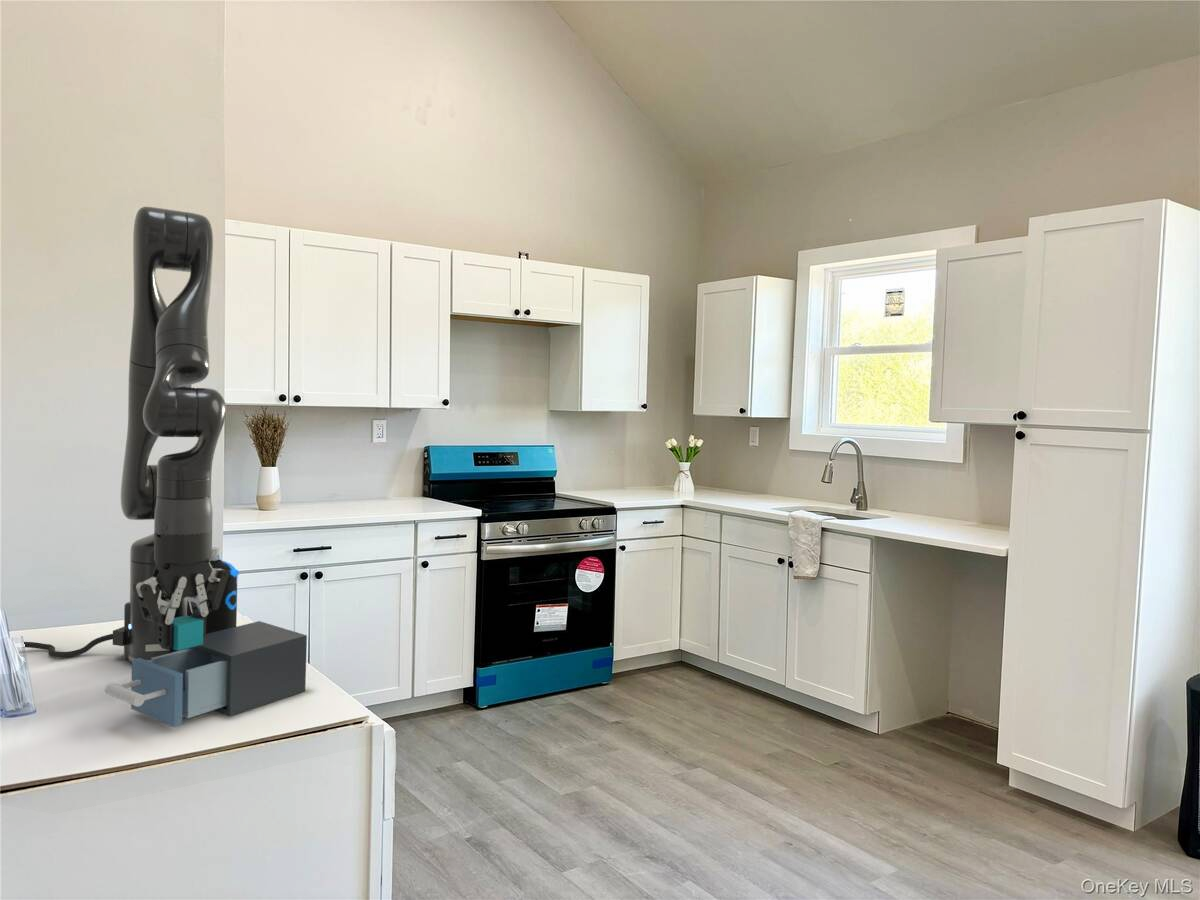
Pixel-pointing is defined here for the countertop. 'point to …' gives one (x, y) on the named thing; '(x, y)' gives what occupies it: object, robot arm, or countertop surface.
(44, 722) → the countertop surface
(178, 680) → the blue drawer
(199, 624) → the teal cube
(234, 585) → the aerosol can
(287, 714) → the countertop surface
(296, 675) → the dark grey drawer cabinet
